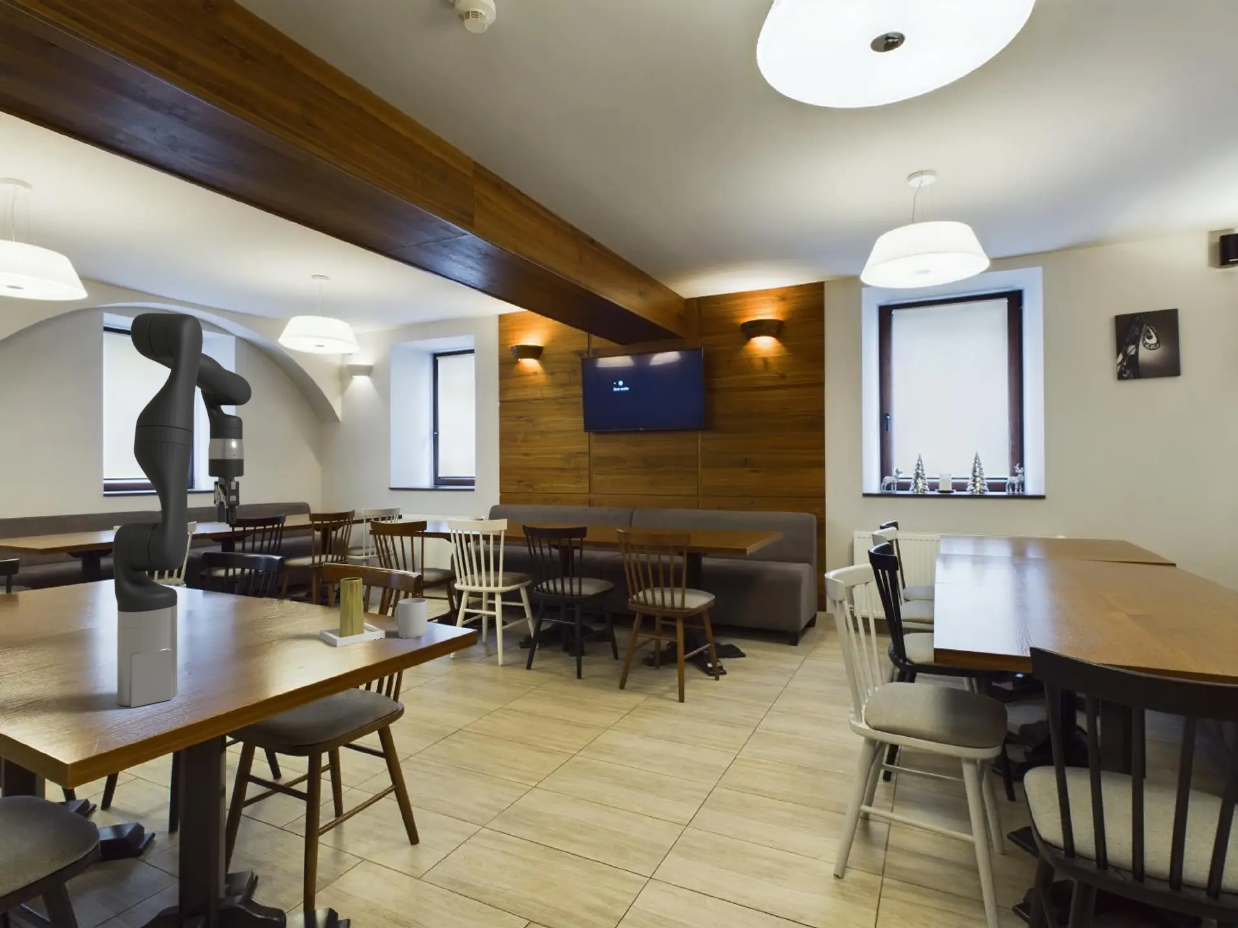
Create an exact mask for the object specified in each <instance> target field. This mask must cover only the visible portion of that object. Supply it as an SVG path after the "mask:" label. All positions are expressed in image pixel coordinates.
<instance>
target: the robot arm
mask: <svg viewBox="0 0 1238 928" xmlns="http://www.w3.org/2000/svg"><path fill="white" fill-rule="evenodd" d="M203 336H204V335H203V327H202V325H201V323H200V321H199V319H198V318H197V317H196V316H194V315H192V314H186V313H163V312H144V313H141V314H138V315H137V316H135V317H134V318H133V320H132V322H131V326H130V339H131V342H132V345H133V346H134V348H135V350H136V351H137V352H138V353H139V354H140V355H141V356H143V357H145V358H147V359H148V360H151V361H152V362H156V363H157V364H159V365H162V366H163V367H165V368H168V369H170V372H169V375H168V377H167V379H166V381H165V382H164V384H163V386H162V387H161V388H160V389H159V391H158V392H157V393H156V394H155V395H154V396H153V397H152V399H151V400H150V401H149V402H148V403H147V404H146V405H145V406H144V408H143V409H142V411H141V412H140V413H139V415H138V416H137V420H136V423H135V428H134V429H135V430H134V441H133V454H134V457H135V460H136V462H137V464H138V466H139V467H140V469H141V470H142V472H143V474H144V475H145V476H146V478H147V479H148V481H149V482H150V483H151V486H152V487H153V488H154V490H155V491H156V493H157V494H156V495H157V497H158V499H159V502H160V503H159V504H160V510H161V520H160V522H159V521H158V522H157V521H156V522H127V523H124V524H122V525H121V526H119V528H117V530H116V532H115V534H114V537H113V541H112V542H113V543H112V566H113V580H114V581H113V583H114V596H115V600H116V603H117V609H116V610H117V625H116V627H117V632H116V633H117V635H116V637H117V638H116V642H117V648H116V649H117V650H116V652H117V653H116V655H117V657H116V658H117V659H116V661H117V662H116V663H117V664H116V668H117V669H116V670H117V671H116V672H117V675H116V679H117V681H116V682H117V684H116V685H117V686H116V688H117V690H116V691H117V692H116V695H117V697H116V698H117V700H116V701H117V704H118V705H120V706H125V707H127V706H128V707H130V708H135V707H141V706H145V705H150V704H155V703H161V702H164V701H169V700H172V699H173V697H174V696H176V695H177V693H178V592H177V590H176V589H174V588H173V587H170V586H166V585H164V584H160V583H158V582H156V581H154V580H152V579H151V578H150V577H149V576H148V575H147V572H162V571H175V570H178V569H180V568H181V567H182V565H183V564H184V562H185V560H186V557H187V552H188V546H189V545H188V543H189V541H188V540H189V529H188V528H189V523H188V522H189V520H188V519H189V518H188V512H189V511H188V490H189V476H190V475H189V474H190V463H191V456H192V455H191V454H192V448H193V447H192V445H193V433H194V431H193V430H194V429H193V428H194V426H193V425H194V408H195V395H196V387H197V388H198V389H200V394H201V397H202V400H203V404H204V406H205V410H206V413H207V417H208V418H207V419H208V423H209V443H208V450H207V451H208V454H207V455H208V464H207V465H208V471H207V473H208V476H209V478H218V479H217V480H214V482H213V485H214V486H213V487H214V488H213V504H214V506H215V508H216V522H217V523H225V524H226V525H235V524H237V509H238V507H239V506H240V505H241V503H240V482H239V480H235V478H241V477H243V476H244V475H245V453H244V452H245V448H244V447H245V446H244V442H243V441H244V440H243V438H244V437H243V435H244V434H243V433H244V431H243V429H244V425H243V419H242V418H241V417H240V416H238V415H233V414H228V413H225V412H224V410H223V408H222V406H233V407H234V406H235V407H236V406H244V405H246V404H248V403H249V401H250V400H251V398H252V388H251V385H250V383H249V381H247V379H246V378H244V377H243V376H241V375H239V374H238V373H235V372H233V371H231V370H228V369H226V368H224V366H223V365H221V364H220V362H218V361H217V360H216V359H215V358H213V357H211V356H209V355H208V354H205V353H203V344H204V343H203V342H204V340H203V339H204V337H203Z"/></svg>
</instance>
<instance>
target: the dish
mask: <svg viewBox="0 0 1238 928" xmlns="http://www.w3.org/2000/svg"><path fill="white" fill-rule="evenodd" d="M339 630H340V626H339V627H334V628H328V629H324V630H322V629H321V630H319V639H321V640H323V641H325V642H327V643H329V644H330V645H332V646H334V647H337V648H338V647H344V645H345V646H349V645H353V643H355V644H360V642H361V643H365V642H364V641H366V642H370V641H375V640H374V639H376V640H381V639H380V638H382V639H385V638H386V630H384V629H382V628H379V627H377V626H374V625H371V624H370V623H367V622H364V634H359V635H354V636H348V637H340V636H339Z"/></svg>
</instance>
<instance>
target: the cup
mask: <svg viewBox="0 0 1238 928" xmlns="http://www.w3.org/2000/svg"><path fill="white" fill-rule="evenodd" d="M393 614H394V623H395V626H397V633H398V634H397V635H398V637H399V636H401V637H405V638H404V639H408V638H410V639H412V638H411V637H417V636H423V635H425V634H426V635H427V633H428V599H426V598H422V597H421V598H420V597H419V598H418V597H411V598H403V599H401V600H398V601H397V605H396V607H395V608H394V613H393ZM426 635H425V636H426ZM401 637H400V638H401ZM423 637H424V636H423Z"/></svg>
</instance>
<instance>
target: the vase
mask: <svg viewBox="0 0 1238 928" xmlns="http://www.w3.org/2000/svg"><path fill="white" fill-rule="evenodd" d="M339 585H340V588H339V589H340V592H339V593H340V597H339V598H340V600H339V601H340V603H339V604H340V605H339V627H340V630H339V636H340V637H348V636H354V635H359V634H364V623H365V621H364V619H365V617H364V602H363V601H364V598H363V578H362V577H346V578H342V579H341V578H340V584H339Z"/></svg>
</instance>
